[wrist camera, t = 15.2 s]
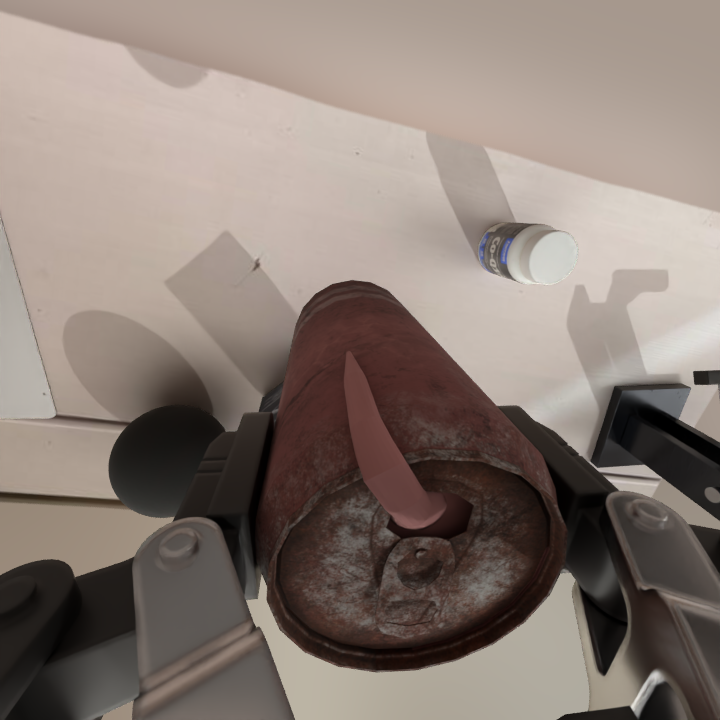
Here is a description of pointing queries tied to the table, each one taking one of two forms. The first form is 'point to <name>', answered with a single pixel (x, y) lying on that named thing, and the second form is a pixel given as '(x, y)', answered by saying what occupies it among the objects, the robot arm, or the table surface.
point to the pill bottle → (528, 253)
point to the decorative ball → (160, 458)
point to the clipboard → (19, 350)
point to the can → (397, 496)
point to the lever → (707, 378)
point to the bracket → (660, 441)
